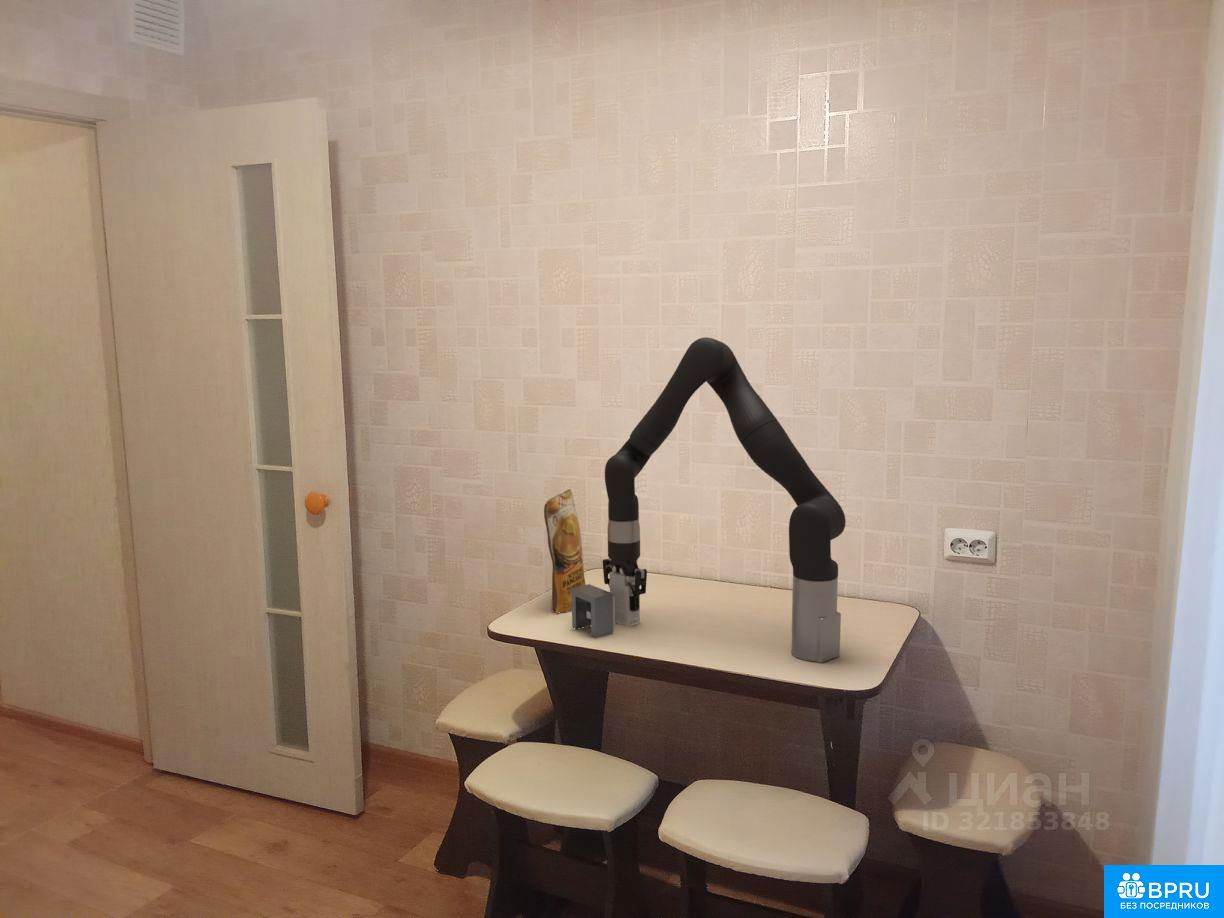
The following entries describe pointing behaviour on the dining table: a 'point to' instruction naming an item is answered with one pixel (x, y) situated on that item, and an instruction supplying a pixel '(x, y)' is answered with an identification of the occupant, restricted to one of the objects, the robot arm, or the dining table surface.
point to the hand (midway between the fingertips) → (624, 606)
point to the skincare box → (623, 600)
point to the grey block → (613, 612)
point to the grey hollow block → (593, 610)
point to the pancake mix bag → (564, 549)
